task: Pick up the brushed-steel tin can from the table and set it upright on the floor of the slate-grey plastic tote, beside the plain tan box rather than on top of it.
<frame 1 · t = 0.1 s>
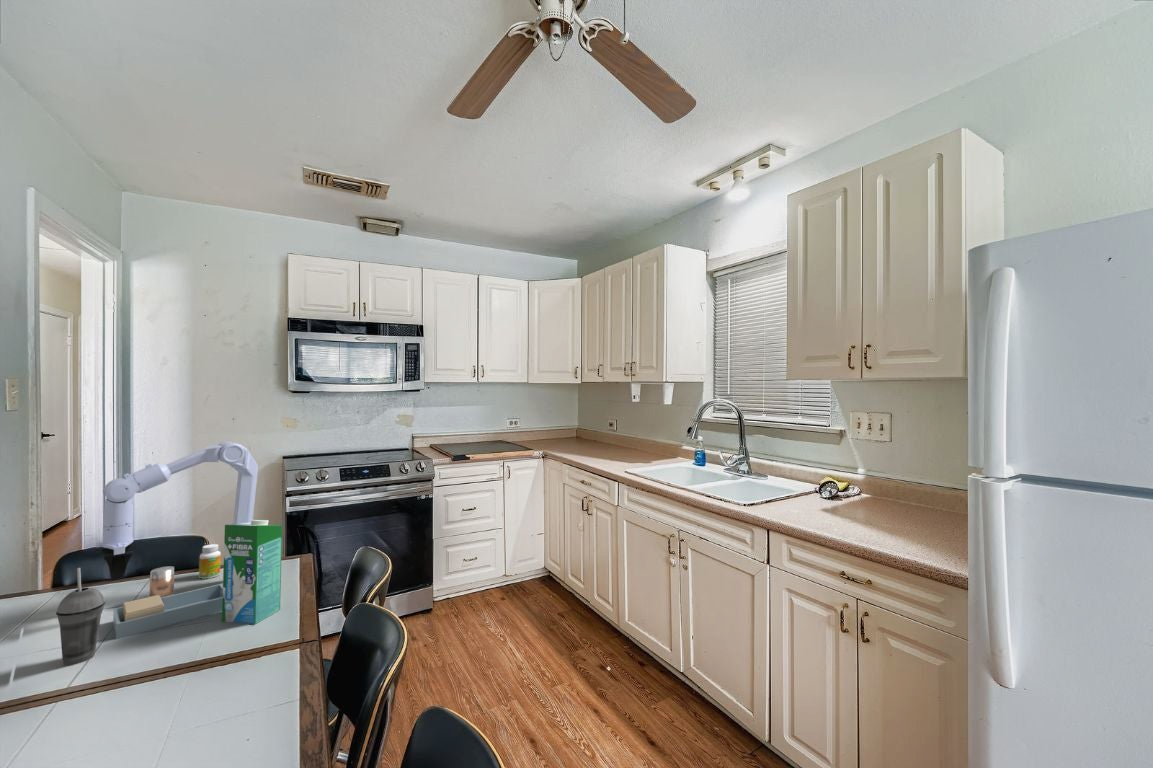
hand: (116, 575, 123), 10 cm above the table, tool pointing down, fingers open, 7 cm apart
tote: (173, 617, 121), on the table
beverage cup: (78, 662, 100), on the table
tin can: (161, 601, 130), on the table
plain tan box: (142, 623, 117), point 1 cm above the table, touching tote
supplement bottle: (209, 576, 149), on the table
milk carton: (251, 617, 122), on the table
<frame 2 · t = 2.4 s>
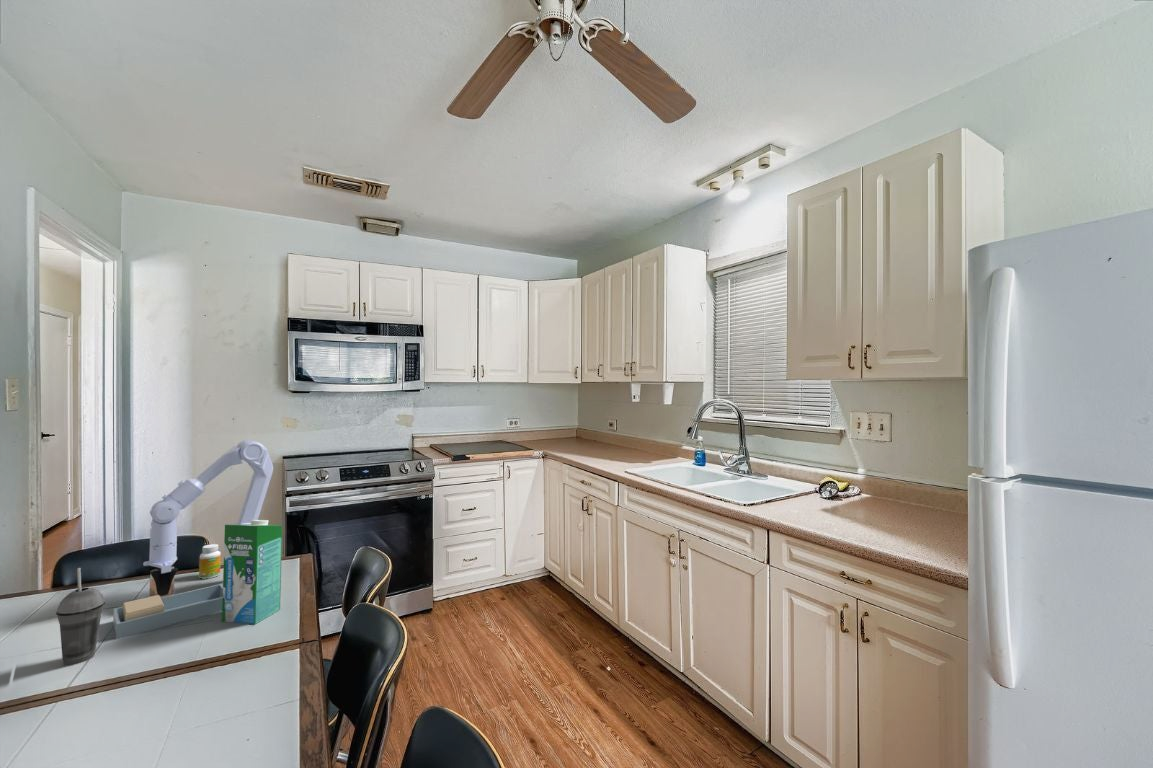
hand: (161, 592, 130), 3 cm above the table, tool pointing down, fingers closed on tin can, 5 cm apart
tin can: (161, 601, 130), on the table, touching gripper
everything else where it was.
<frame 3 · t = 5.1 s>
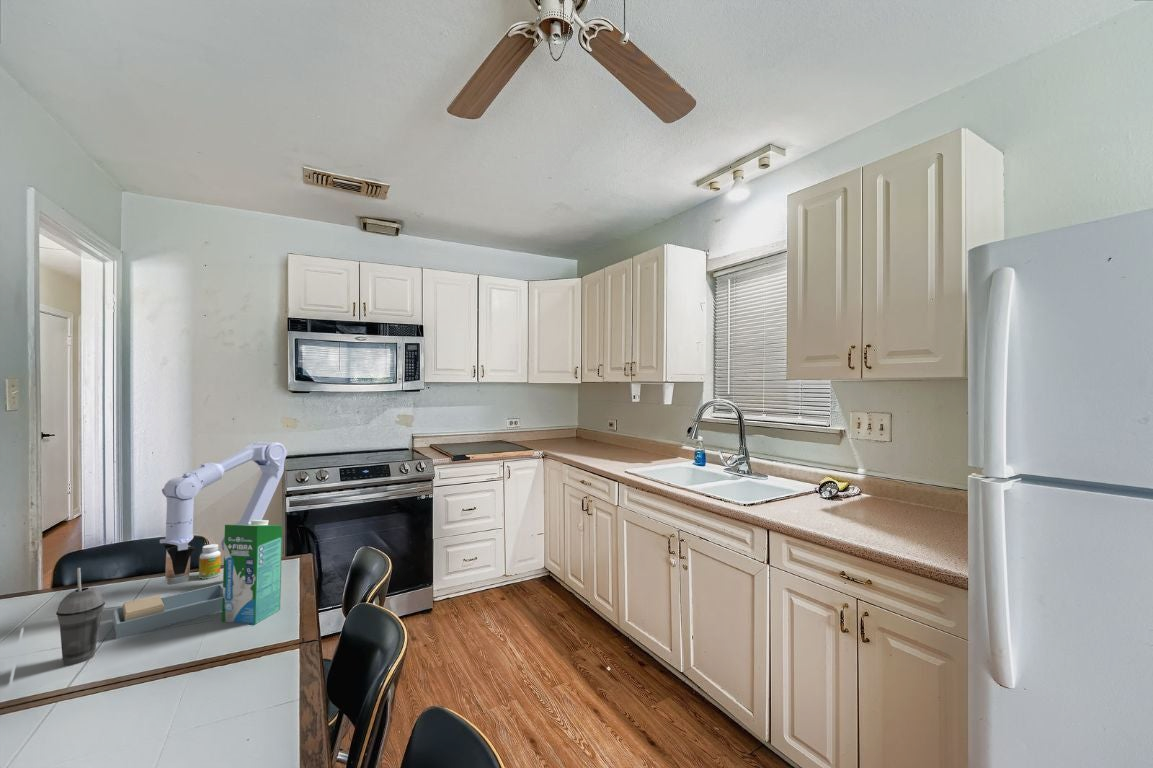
hand: (178, 570, 128), 10 cm above the table, tool pointing down, fingers closed on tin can, 5 cm apart
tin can: (177, 580, 128), point 7 cm above the table, touching gripper
everything else where it was.
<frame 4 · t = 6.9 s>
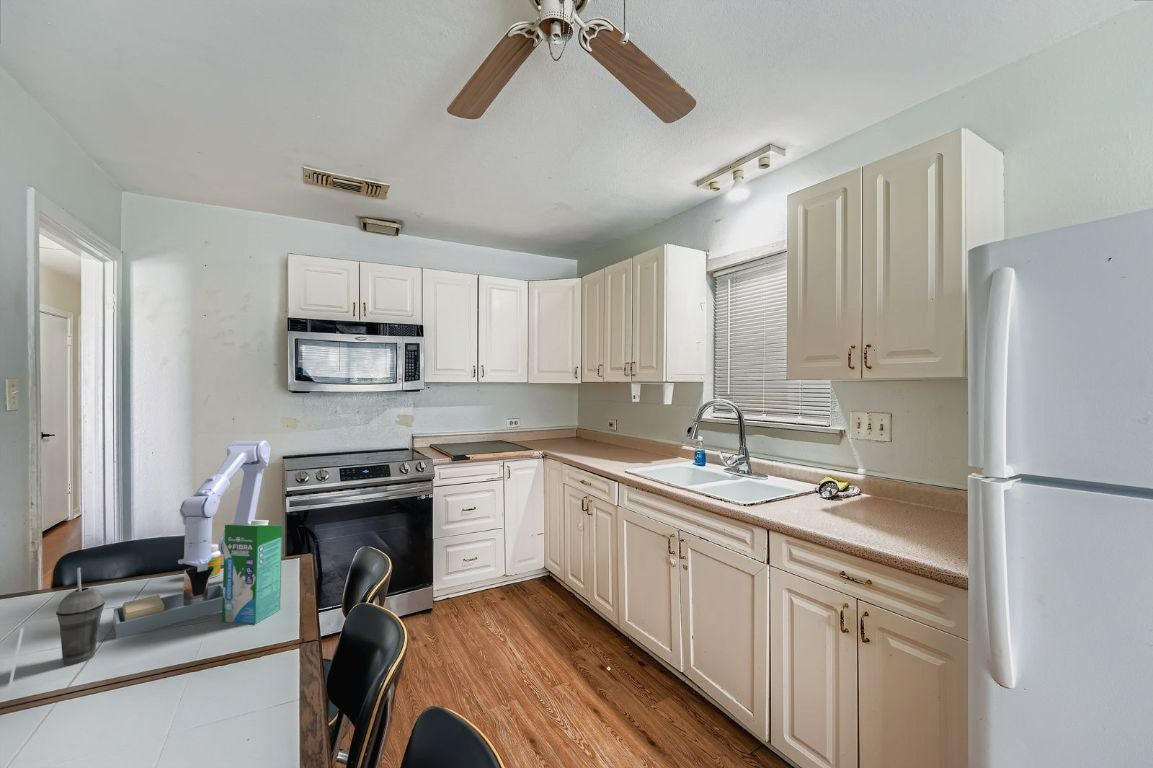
hand: (196, 591, 124), 5 cm above the table, tool pointing down, fingers closed on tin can, 5 cm apart
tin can: (195, 602, 124), point 3 cm above the table, touching gripper
everything else where it was.
when the fingers open (4 cm above the table, at t = 8.1 s): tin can drops 1 cm, resting on tote.
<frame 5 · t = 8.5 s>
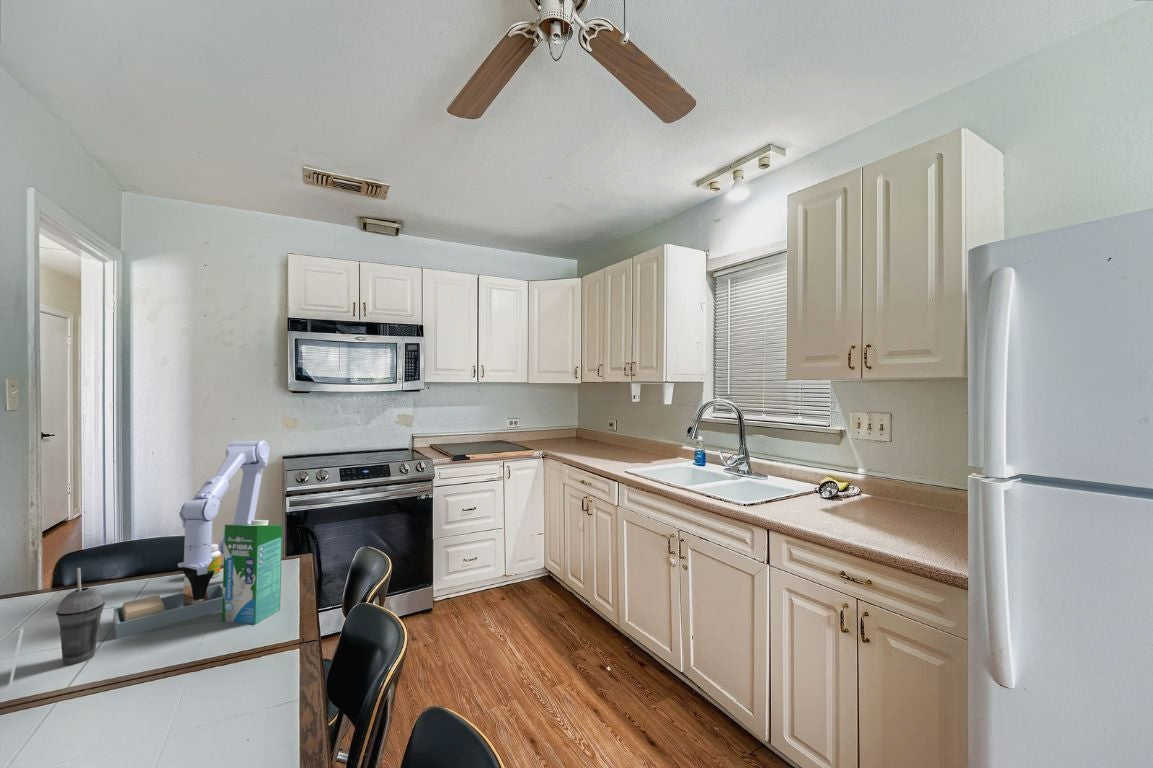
hand: (196, 595, 124), 4 cm above the table, tool pointing down, fingers open, 7 cm apart
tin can: (195, 609, 124), point 1 cm above the table, touching tote
everything else where it was.
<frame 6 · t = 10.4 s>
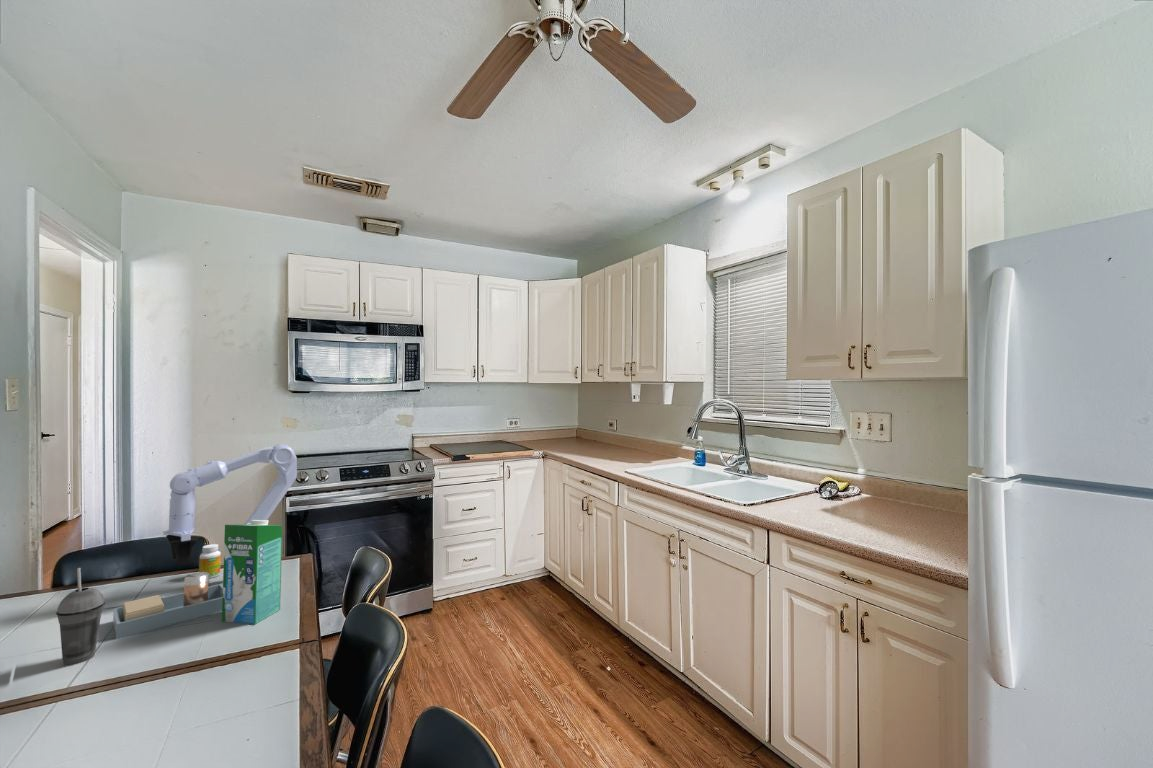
hand: (180, 561, 135), 10 cm above the table, tool pointing down, fingers open, 7 cm apart
nothing on the table moved.
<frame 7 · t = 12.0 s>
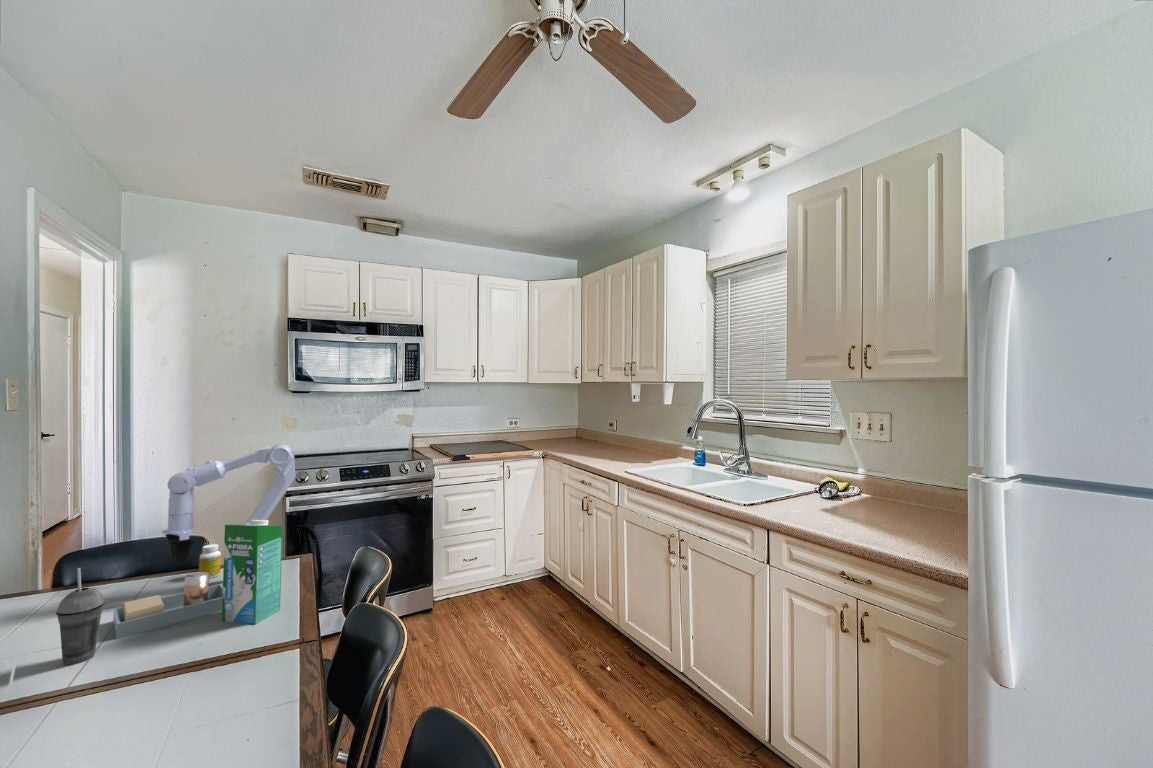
hand: (179, 560, 136), 10 cm above the table, tool pointing down, fingers open, 7 cm apart
nothing on the table moved.
at the end: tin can inside the target area on the tote (0.7 cm from its centre), point 0.6 cm above the tote's base; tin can tilted 1°; plain tan box moved 0.0 cm from its start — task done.
